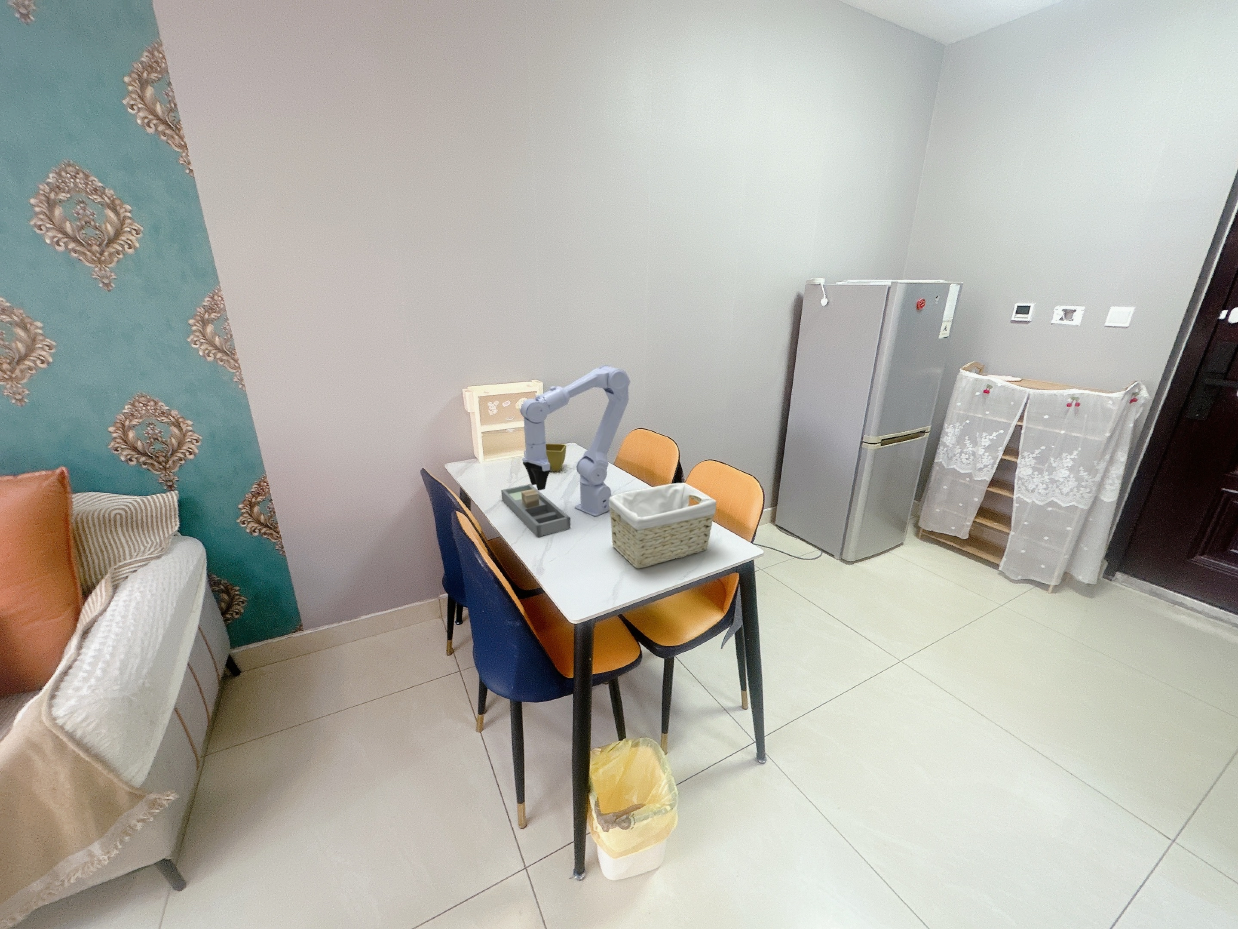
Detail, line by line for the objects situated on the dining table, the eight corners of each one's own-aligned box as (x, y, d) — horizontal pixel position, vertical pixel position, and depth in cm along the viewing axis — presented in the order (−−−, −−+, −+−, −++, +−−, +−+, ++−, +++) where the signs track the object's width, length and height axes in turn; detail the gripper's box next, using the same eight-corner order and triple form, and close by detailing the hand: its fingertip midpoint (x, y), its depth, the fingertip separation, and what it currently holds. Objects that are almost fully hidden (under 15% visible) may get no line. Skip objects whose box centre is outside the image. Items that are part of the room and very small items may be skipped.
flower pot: (567, 466, 188) (566, 444, 185) (562, 474, 180) (561, 451, 177) (545, 465, 189) (544, 443, 186) (539, 473, 181) (538, 450, 178)
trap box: (570, 528, 138) (570, 517, 137) (537, 537, 133) (537, 526, 132) (531, 493, 162) (530, 483, 161) (502, 499, 157) (501, 490, 156)
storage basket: (680, 527, 140) (682, 479, 135) (716, 552, 126) (720, 500, 121) (606, 546, 129) (605, 495, 124) (636, 575, 116) (636, 519, 111)
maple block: (539, 505, 149) (538, 493, 147) (526, 508, 147) (526, 496, 145) (534, 500, 152) (533, 489, 150) (522, 503, 150) (521, 491, 149)
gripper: (512, 438, 140) (516, 481, 144) (531, 451, 128) (534, 498, 133) (535, 434, 143) (538, 477, 148) (556, 447, 132) (558, 493, 136)
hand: (538, 486), depth 141 cm, fingers open, 4 cm apart
